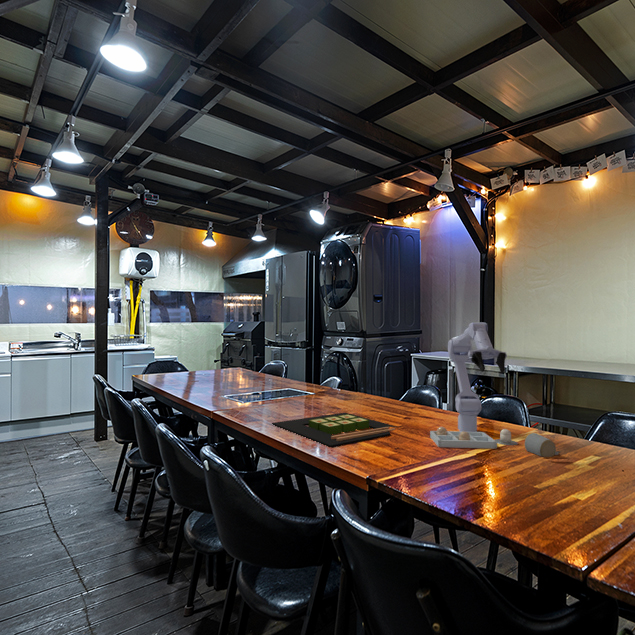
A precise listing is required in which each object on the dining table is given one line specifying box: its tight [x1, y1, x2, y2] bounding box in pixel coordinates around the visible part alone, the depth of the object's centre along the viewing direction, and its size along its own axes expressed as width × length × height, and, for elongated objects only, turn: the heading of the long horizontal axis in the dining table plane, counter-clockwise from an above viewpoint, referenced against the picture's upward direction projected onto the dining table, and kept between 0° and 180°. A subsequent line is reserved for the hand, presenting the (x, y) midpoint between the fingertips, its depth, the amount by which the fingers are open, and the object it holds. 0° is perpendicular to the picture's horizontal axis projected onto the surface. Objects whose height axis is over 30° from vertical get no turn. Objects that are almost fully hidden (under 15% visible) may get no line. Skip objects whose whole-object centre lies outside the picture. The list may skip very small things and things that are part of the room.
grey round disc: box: [494, 438, 519, 446], centre depth 170 cm, size 9×9×1 cm
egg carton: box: [429, 430, 498, 450], centre depth 169 cm, size 15×22×4 cm
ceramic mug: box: [524, 432, 560, 458], centre depth 156 cm, size 11×8×8 cm
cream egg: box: [499, 428, 512, 443], centre depth 171 cm, size 4×4×5 cm
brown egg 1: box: [436, 426, 448, 435], centre depth 173 cm, size 4×4×5 cm
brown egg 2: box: [459, 431, 470, 440], centre depth 166 cm, size 4×4×5 cm
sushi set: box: [271, 412, 398, 448], centre depth 195 cm, size 45×45×4 cm
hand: (493, 370), depth 160 cm, fingers open, 7 cm apart
